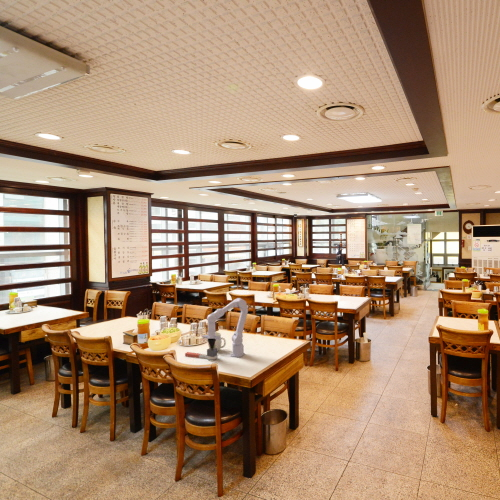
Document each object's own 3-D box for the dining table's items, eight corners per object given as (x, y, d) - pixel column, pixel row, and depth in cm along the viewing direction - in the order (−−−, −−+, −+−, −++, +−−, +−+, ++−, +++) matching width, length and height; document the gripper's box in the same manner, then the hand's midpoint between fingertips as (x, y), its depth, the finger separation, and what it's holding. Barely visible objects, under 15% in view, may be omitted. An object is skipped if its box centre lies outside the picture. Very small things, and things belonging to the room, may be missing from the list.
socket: (210, 354, 264) (210, 347, 264) (217, 354, 262) (217, 348, 262) (207, 356, 259) (206, 349, 259) (213, 357, 257) (213, 350, 257)
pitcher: (222, 353, 272) (222, 336, 272) (202, 351, 280) (202, 334, 279) (228, 349, 282) (228, 332, 282) (209, 347, 290) (209, 330, 289)
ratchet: (183, 357, 266) (183, 350, 266) (189, 353, 273) (189, 347, 273) (214, 361, 256) (214, 353, 255) (219, 357, 263) (219, 350, 263)
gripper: (200, 331, 259) (201, 348, 260) (217, 332, 254) (218, 350, 254) (205, 328, 266) (205, 346, 266) (222, 330, 260) (222, 348, 261)
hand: (212, 348), depth 261 cm, fingers closed
